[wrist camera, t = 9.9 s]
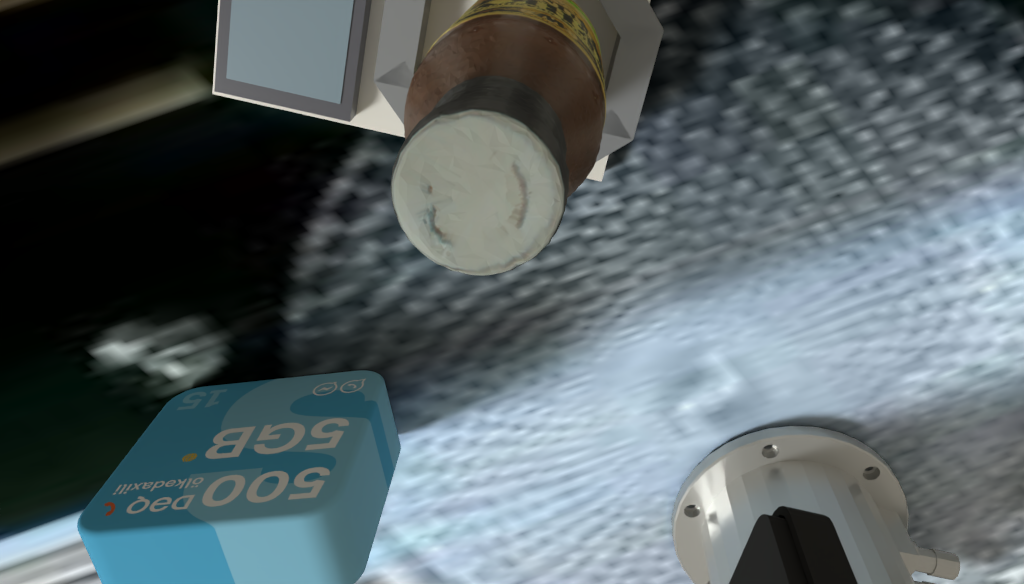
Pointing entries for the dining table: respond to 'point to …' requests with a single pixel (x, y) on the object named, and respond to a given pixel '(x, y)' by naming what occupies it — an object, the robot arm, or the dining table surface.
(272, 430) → the data package
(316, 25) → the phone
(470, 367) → the dining table surface
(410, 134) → the sauce bottle
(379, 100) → the grey shallow tray
